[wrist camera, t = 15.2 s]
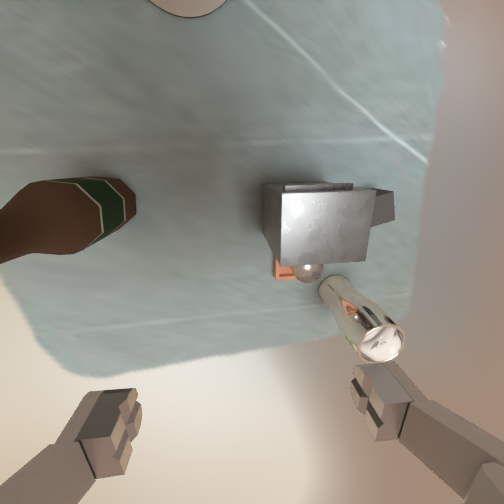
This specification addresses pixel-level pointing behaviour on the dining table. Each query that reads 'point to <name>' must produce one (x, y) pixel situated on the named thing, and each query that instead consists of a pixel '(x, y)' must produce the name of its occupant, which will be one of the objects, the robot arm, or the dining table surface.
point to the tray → (282, 271)
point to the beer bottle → (63, 215)
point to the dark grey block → (317, 222)
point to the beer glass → (362, 321)
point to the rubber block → (383, 207)
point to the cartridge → (307, 272)
